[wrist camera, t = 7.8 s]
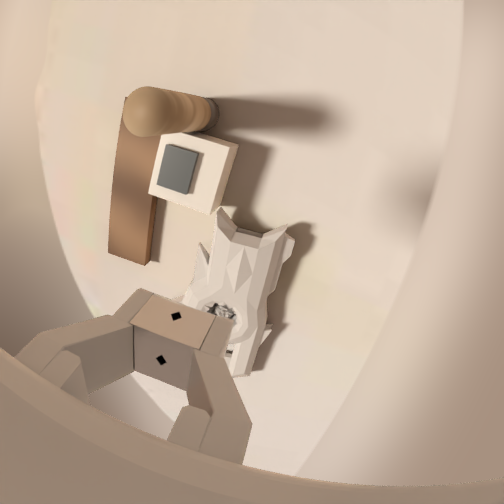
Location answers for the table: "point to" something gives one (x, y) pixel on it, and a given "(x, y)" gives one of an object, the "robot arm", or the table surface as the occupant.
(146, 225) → the bar
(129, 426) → the robot arm
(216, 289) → the gun
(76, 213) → the table surface
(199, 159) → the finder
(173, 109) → the tan rounded rod
